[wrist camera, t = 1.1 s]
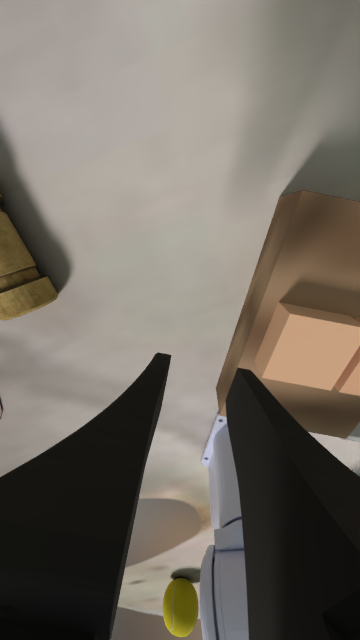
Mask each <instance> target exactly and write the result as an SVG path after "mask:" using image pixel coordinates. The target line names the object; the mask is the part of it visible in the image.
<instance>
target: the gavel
mask: <svg viewBox="0 0 360 640" xmlns="http://www.w3.org/2000/svg"><path fill="white" fill-rule="evenodd" d="M2 200H3V198H2V196H1V194H0V202H1V201H2ZM35 266H36V264H35V262H34V260H33V258H32V257H31V255H30V253H29V252H28V250H27V248H26V246H25V245H24V243H23V241H22V240H21V238H20V236H19V234H18V233H17V231H16V229H15V228H14V226H13V224H12V222H11V221H10V219H9V217H8V215H7V214H6V213H4V212H3V211H2V210H1V208H0V320H9V319H13V318H16V317H19V316H22V315H24V314H27V313H29V312H32V311H34V310H36V309H39V308H41V307H43V306H45V305H47V304H49V303H51V302H53V301H54V300H56V299H57V297H58V294H57V292H56V290H55V289H54V287H53V285H52V283H51V282H50V280H49V278H48V276H46V277H41V276H40V275H39V273H38V271H37V270H36V268H35Z"/></svg>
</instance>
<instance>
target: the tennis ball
mask: <svg viewBox="0 0 360 640" xmlns="http://www.w3.org/2000/svg"><path fill="white" fill-rule="evenodd" d="M163 616H164V621H165V624H166V627H167V628H168V629H169V631H170V632H171V633H172V634H173V635H175V636H177V637H185V636H187V635H188V634H190V633H191V632H192V630H193V629H194V627H195V624H196V622H197V617H198V598H197V593H196V590H195V588H194V586H193V585H192V583H191V582H190V581H189V580H187V579H185V578H177V579H175V580H173V581H172V582H171V583H170V584H169V585H168V587H167V589H166V592H165V595H164V600H163Z"/></svg>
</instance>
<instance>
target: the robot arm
mask: <svg viewBox="0 0 360 640" xmlns="http://www.w3.org/2000/svg"><path fill="white" fill-rule="evenodd" d="M170 359H171V355H168V354H163V353H157V354H155V356H154V358H153V359H152V361H151V362H150V363H149V365H148V366H147V367H146V369H145V370H144V371H143V372H142V373H141V375H140V376H139V377H138V378H137V379H136V380H135V381H134V383H133V384H132V385H131V386H130V387H129V388H128V389H127V390H126V391H125V392H124V393H123V394H122V395H121V396H119V397H118V398H117V399H116V400H115V401H114V402H113V403H112V404H111V405H109V406H108V407H107V408H106V409H105V410H103V411H102V412H101V413H100V414H98V415H97V416H96V417H94V418H93V419H92V420H91V421H89V422H88V423H87V424H85V425H84V426H83V427H81V428H80V429H78V430H77V431H75V432H74V433H72V434H71V435H69V436H68V437H66V438H65V439H63V440H62V441H60V442H59V443H57V444H56V445H54V446H53V447H51V448H50V449H48V450H46V451H45V452H43V453H42V454H40V455H38V456H37V457H35V458H33V459H31V460H30V461H28V462H26V463H24V464H23V465H21V466H19V467H17V468H16V469H14V470H12V471H10V472H9V473H7V474H5V475H3V476H2V477H0V640H110V639H111V635H112V630H113V625H114V620H115V615H116V610H117V605H118V600H119V595H120V590H121V585H122V580H123V574H124V569H125V564H126V559H127V554H128V549H129V544H130V539H131V534H132V529H133V524H134V519H135V514H136V509H137V504H138V499H139V494H140V489H141V484H142V479H143V473H144V469H145V465H146V461H147V457H148V453H149V450H150V446H151V443H152V439H153V436H154V432H155V428H156V425H157V421H158V418H159V414H160V411H161V406H162V401H163V396H164V391H165V386H166V381H167V376H168V370H169V365H170ZM201 464H202V465H204V466H208V472H209V490H210V508H211V521H212V526H213V530H214V538H215V545H210V546H209V547H208V548H207V551H206V554H205V556H204V558H203V560H202V564H201V571H200V615H201V627H202V635H203V640H360V477H359V476H358V475H356V474H355V473H354V472H353V471H351V470H350V469H349V468H348V467H347V466H345V465H344V464H343V463H342V462H341V461H339V460H338V459H337V458H336V457H335V456H333V455H332V454H331V453H330V452H329V451H328V450H327V449H326V448H325V447H323V446H322V445H321V444H320V443H319V442H318V441H317V440H316V439H315V438H314V437H312V436H311V435H310V434H309V433H308V432H307V431H306V430H305V429H304V428H303V427H302V426H301V425H300V424H299V423H298V422H297V421H296V420H295V419H294V418H293V417H292V416H291V415H290V413H289V412H288V411H287V410H286V409H285V408H284V407H283V406H282V405H281V404H280V403H279V402H278V400H277V399H276V398H275V397H274V396H273V395H272V394H271V392H270V391H269V390H268V389H267V388H266V387H265V385H264V384H263V383H262V382H261V381H260V380H259V379H258V377H257V376H256V375H255V374H254V373H253V372H252V371H251V370H249V369H243V368H237V370H236V373H235V376H234V378H233V381H232V384H231V386H230V389H229V392H228V395H227V397H226V417H224V416H220V414H219V413H218V414H217V416H216V419H215V422H214V425H213V427H212V430H211V433H210V436H209V438H208V441H207V444H206V447H205V449H204V452H203V455H202V458H201Z"/></svg>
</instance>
